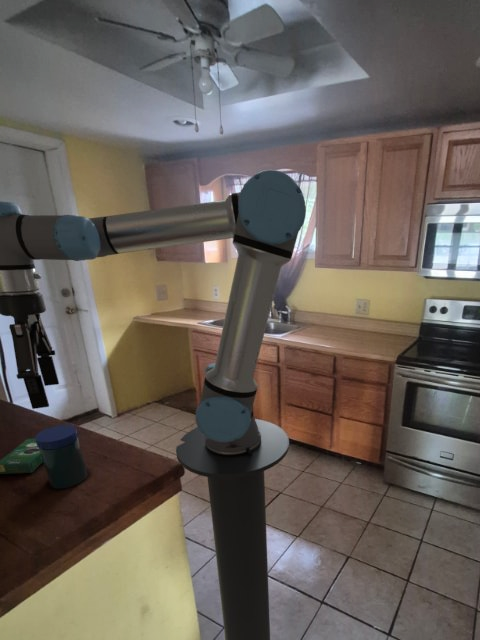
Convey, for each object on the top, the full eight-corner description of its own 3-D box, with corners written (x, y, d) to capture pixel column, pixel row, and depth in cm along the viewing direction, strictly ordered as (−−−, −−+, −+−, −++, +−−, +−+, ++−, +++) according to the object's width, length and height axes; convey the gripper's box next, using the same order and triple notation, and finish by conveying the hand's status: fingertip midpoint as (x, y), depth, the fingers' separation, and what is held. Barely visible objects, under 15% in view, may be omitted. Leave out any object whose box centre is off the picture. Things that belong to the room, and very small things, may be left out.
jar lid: (85, 438, 83) (83, 431, 83) (47, 453, 78) (44, 445, 77) (68, 429, 88) (66, 421, 87) (30, 442, 82) (28, 435, 81)
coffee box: (28, 447, 100) (-3, 475, 87) (25, 438, 98) (-7, 465, 86) (60, 446, 100) (33, 473, 88) (57, 436, 99) (30, 463, 87)
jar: (93, 476, 87) (82, 433, 83) (59, 492, 82) (45, 447, 77) (77, 466, 91) (66, 424, 87) (44, 480, 86) (30, 437, 81)
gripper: (27, 300, 62) (58, 415, 70) (51, 285, 83) (73, 374, 91) (-29, 303, 59) (10, 422, 67) (10, 286, 80) (37, 378, 88)
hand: (46, 395), depth 79 cm, fingers open, 13 cm apart
